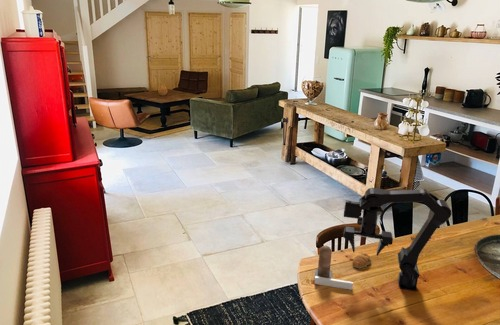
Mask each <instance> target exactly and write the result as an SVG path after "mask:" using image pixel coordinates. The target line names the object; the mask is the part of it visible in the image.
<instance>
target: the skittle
mask: <svg viewBox="0 0 500 325" xmlns="http://www.w3.org/2000/svg"><path fill="white" fill-rule="evenodd" d="M332 253H333V252H332V248H331V247H330V246H328V245H323V246H321V247H320V248H319V253H318V266H317V269H318V276H320V277H324V278H327V277H329V275H330V271H331V266H332V265H331V264H332Z"/></svg>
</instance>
